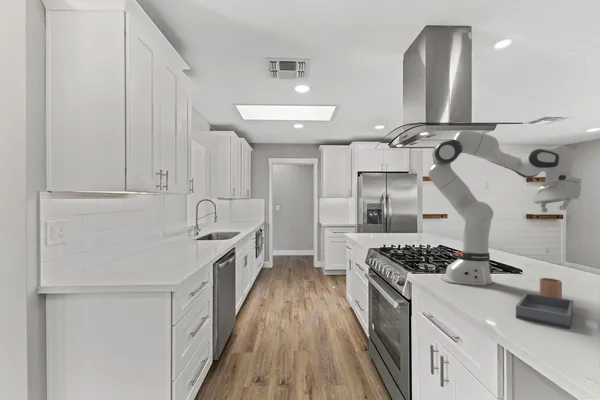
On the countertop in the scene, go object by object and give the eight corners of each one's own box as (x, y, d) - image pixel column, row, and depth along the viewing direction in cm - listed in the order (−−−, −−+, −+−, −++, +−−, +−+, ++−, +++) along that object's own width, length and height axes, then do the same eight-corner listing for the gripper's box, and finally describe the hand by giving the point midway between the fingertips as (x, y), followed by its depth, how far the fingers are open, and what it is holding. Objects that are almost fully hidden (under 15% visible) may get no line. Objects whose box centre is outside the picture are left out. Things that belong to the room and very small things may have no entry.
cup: (553, 305, 121) (553, 282, 121) (536, 300, 127) (536, 278, 127) (565, 303, 123) (565, 281, 123) (547, 298, 129) (547, 277, 129)
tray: (569, 328, 100) (569, 316, 100) (516, 317, 109) (516, 305, 109) (573, 311, 114) (573, 300, 114) (525, 303, 124) (525, 292, 124)
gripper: (531, 183, 154) (527, 211, 152) (571, 174, 134) (567, 206, 132) (544, 187, 155) (539, 215, 152) (585, 178, 134) (581, 210, 132)
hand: (552, 211), depth 142 cm, fingers open, 8 cm apart
